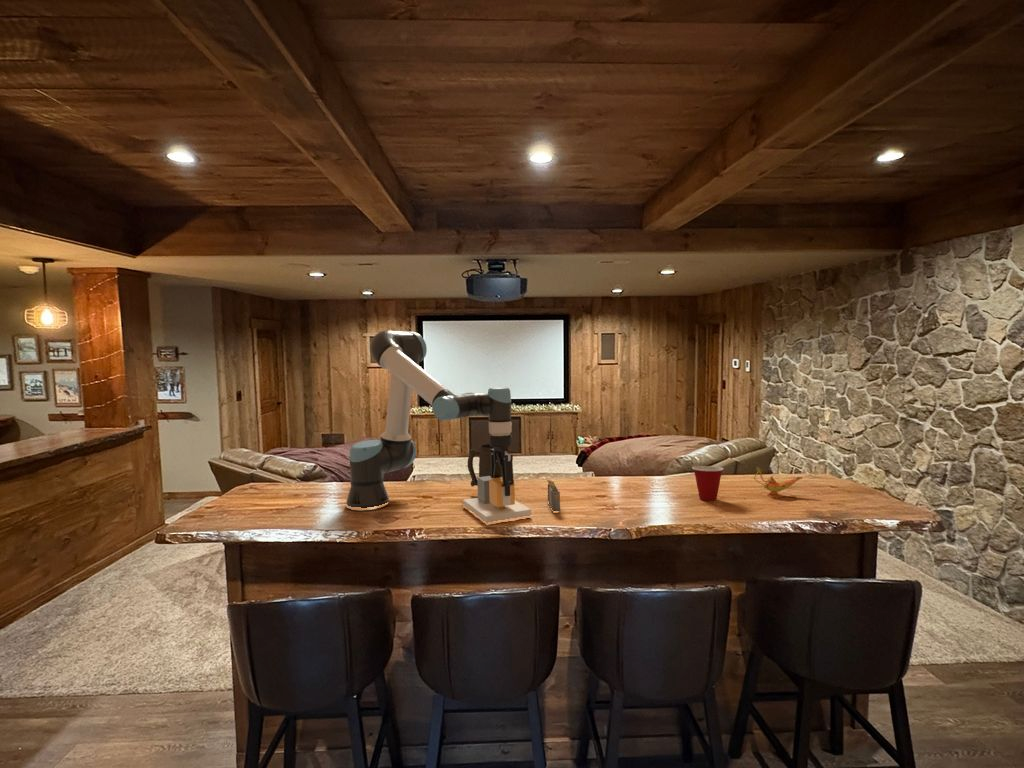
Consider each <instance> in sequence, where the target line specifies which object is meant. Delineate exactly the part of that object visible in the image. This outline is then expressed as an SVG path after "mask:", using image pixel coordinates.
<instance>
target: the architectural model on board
mask: <svg viewBox="0 0 1024 768" xmlns="http://www.w3.org/2000/svg"><path fill="white" fill-rule="evenodd" d="M546 481H547V483H548V484H547V502H548V501H549V504H550V506H551V508H552V510H553V511H560V512H561V492H560V490H559V488H558V487H557V485H556V483H555V481H552V480H549V479H548V478H546ZM549 504H548V505H549Z"/></svg>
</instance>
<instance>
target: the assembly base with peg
mask: <svg viewBox="0 0 1024 768" xmlns="http://www.w3.org/2000/svg"><path fill="white" fill-rule="evenodd" d="M476 478H477V480H478V486H477V497H474V498H465V499H463V500H462V505H463V504H464V505H465V506H466V507H467V508H469V509H470V510H471V511H472V512H474V513H475V514H476V515H477V516H479V517H480V518H481V519H482V520H483V521H485V522H486V523H488V522H493V521H498V520H505V519H510V518H517V517H523V516H530V515H531V516H532V509H531V508H530V507H528V506H526V505H524V504H522V503H521V502H519V501H517V500H515V504H514V505H507V506H501V507H496V506H495V505H493V504H492V503H490V496H489V479H491V476H484V477H479V476H478V477H477V476H476Z"/></svg>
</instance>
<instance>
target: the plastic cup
mask: <svg viewBox="0 0 1024 768" xmlns="http://www.w3.org/2000/svg"><path fill="white" fill-rule="evenodd" d="M691 468H692V470H693V473H694V477H695V481H696V486H697V487H696V488H697V491H698V497H699V500H700V501H703V502H716V501H717V498H718V492H719V489H720V482H721V478H722V474H723V471H724V467H721V466H713V465H711V466H710V465H695V466H692V467H691Z"/></svg>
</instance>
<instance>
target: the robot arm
mask: <svg viewBox="0 0 1024 768" xmlns="http://www.w3.org/2000/svg"><path fill="white" fill-rule="evenodd" d="M427 351H428V350H427V343H426V341H425V339H424V338H423V336H422V335H421V334H420V333H418V332H415V331H410V330H390V329H389V330H381V331H379V332H377V333H376V334H374V336H373V337H372V339H371V340H370V343H369V353H370V355H371V358H372V359H373V361H374V362H375V363H376V364H377V365H378V367H379V366H380V368H382V369H383V370H385V371H386V370H388V371H390V378H389V386H388V387H389V389H388V399H387V410H386V421H385V430H384V432H382V433H381V434H380V439H368V440H361V441H359V442H356V443H354V444H353V445H351V446H350V448H349V456H348V459H349V476H350V487H349V491H348V495H347V499H346V501H345V503H346V504H347V505H348V506H351V507H361V508H367V507H374V506H379V505H382V504H385V503H387V502H388V501H389V502H390V498H389V495H388V491H387V489H386V486H385V484H384V474H387V473H391V472H394V471H398V470H399V471H401V470H403V469H405V468H407V467H409V466H410V465H412V464H413V463H414V461H415V459H416V455H417V448H416V446H415V443H414V441H413V440H412V435H411V434H410V433H409V426H410V414H411V406H412V397H413V396H412V395H413V391H414V392H415V393H416V394H417V395H418V396H419V397H421V399H423V400H424V401H425V402H427V403H428V405H430V406H431V410H432V413H433V414H434V417H435V418H436V419H438V420H440V421H452V420H456V419H461V418H467V417H473V416H485V417H488V433H489V434H490V435H488V436H489V438H488V439H489V443H488V444H490V446H491V447H494V449H490V456H491V469H490V476H491V478H499V477H501V474H502V480H503V485H501V486H502V506H507V505H511V490H510V486H511V485H514V486H515V479H514V468H513V467H514V466H513V464H514V462H513V459H514V455H513V454H510V453H509V447H511V446H512V445H513V435H512V434H511V433H512V432H513V431H512V430H513V429H512V426H513V423H512V396H511V395H512V394H511V389H510V388H509V387H506V386H505V387H503V386H502V387H500V386H499V387H489V388H488V389H487V393H485V392H484V393H481V392H479V393H478V392H464V393H462V394H454V393H453V392H451V391H450V390H449V389H448V388H447V387H445V386H444V385H443V384H441V382H439V381H438V380H437V379H436V378H434V377H433V376H432V375H431V374H430V373H428V372H427V371H426V370H424V369H423V368H422V366H420V362H422V361H423V360H424V359H425V358H426V356H427ZM503 462H504V463H503Z"/></svg>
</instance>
